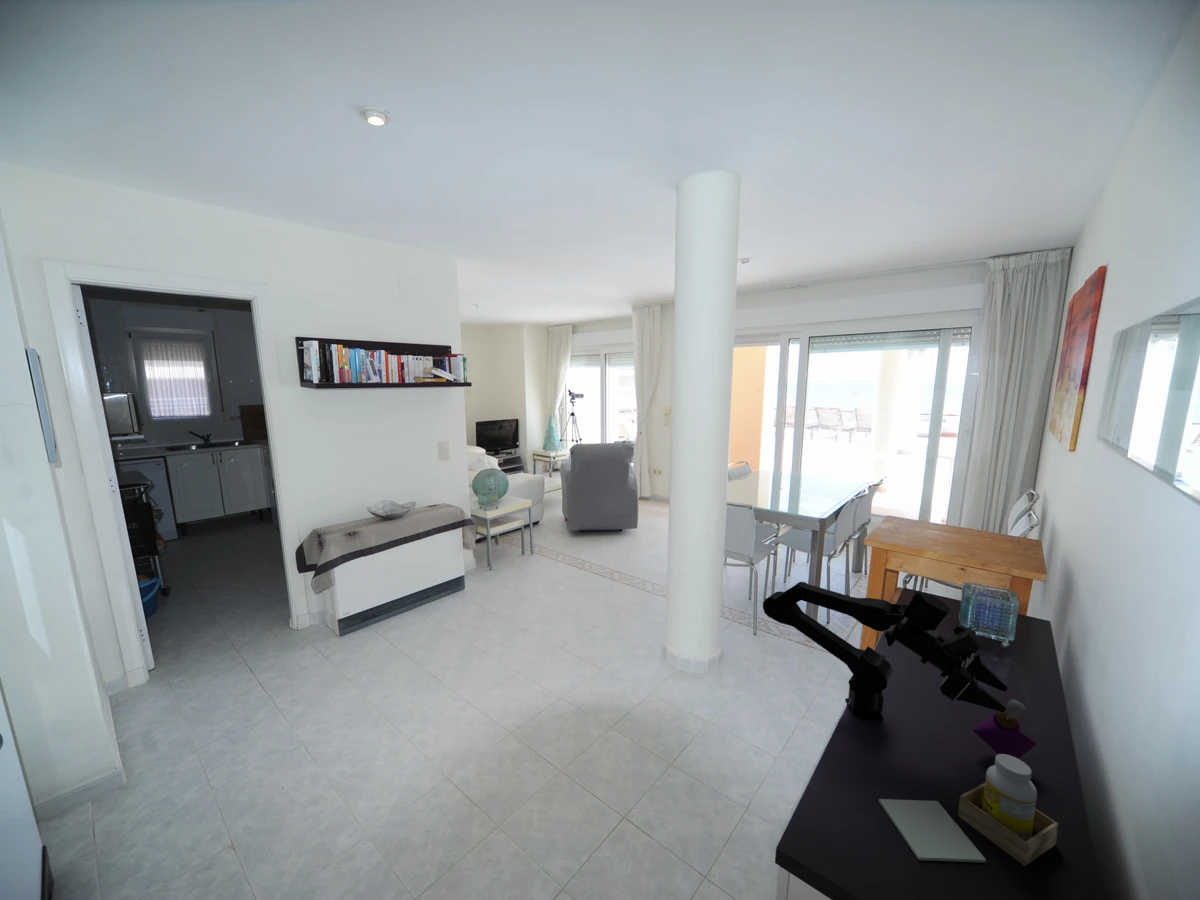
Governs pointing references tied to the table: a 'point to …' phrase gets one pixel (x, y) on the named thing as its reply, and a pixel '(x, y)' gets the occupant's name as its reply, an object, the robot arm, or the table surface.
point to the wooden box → (1004, 836)
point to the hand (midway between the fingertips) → (1005, 699)
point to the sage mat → (930, 831)
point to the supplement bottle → (1010, 795)
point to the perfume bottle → (1006, 731)
